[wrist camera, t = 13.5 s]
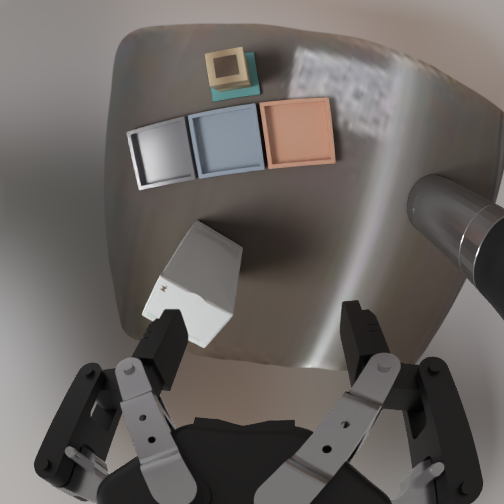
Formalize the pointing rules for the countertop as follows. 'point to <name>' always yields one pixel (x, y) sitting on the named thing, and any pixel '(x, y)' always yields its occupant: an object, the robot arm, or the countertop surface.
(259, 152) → the dish slate
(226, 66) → the letter block
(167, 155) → the dish charcoal
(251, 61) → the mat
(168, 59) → the countertop surface
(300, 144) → the dish terracotta
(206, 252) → the skincare box
